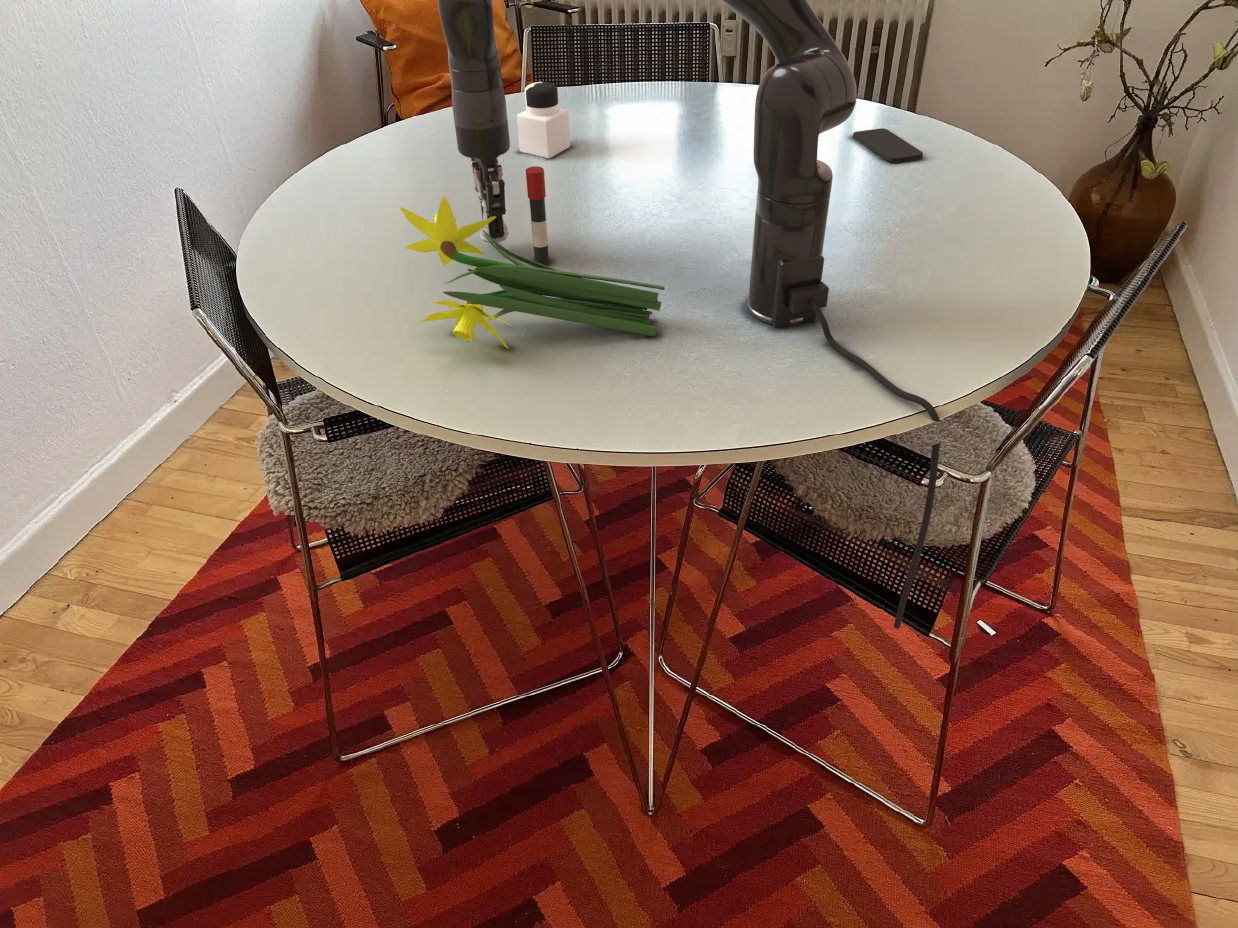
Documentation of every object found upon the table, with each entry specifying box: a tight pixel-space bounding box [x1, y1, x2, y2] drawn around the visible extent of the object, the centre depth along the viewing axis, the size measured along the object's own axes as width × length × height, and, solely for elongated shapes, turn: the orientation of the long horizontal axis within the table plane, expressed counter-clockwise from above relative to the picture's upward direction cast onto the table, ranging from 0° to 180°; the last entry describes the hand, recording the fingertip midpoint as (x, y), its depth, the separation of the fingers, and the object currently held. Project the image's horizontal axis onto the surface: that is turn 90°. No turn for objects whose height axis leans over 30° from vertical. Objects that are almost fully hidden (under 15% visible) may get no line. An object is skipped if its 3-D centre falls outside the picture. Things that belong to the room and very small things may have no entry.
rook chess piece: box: [479, 191, 510, 244], centre depth 138 cm, size 4×4×8 cm
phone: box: [852, 128, 924, 163], centre depth 172 cm, size 7×1×15 cm
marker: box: [525, 165, 550, 266], centre depth 134 cm, size 3×3×14 cm
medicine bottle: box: [516, 81, 571, 159], centre depth 171 cm, size 7×7×12 cm
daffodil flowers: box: [399, 195, 666, 349], centre depth 119 cm, size 17×15×35 cm
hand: (493, 229), depth 140 cm, fingers closed on rook chess piece, 4 cm apart
